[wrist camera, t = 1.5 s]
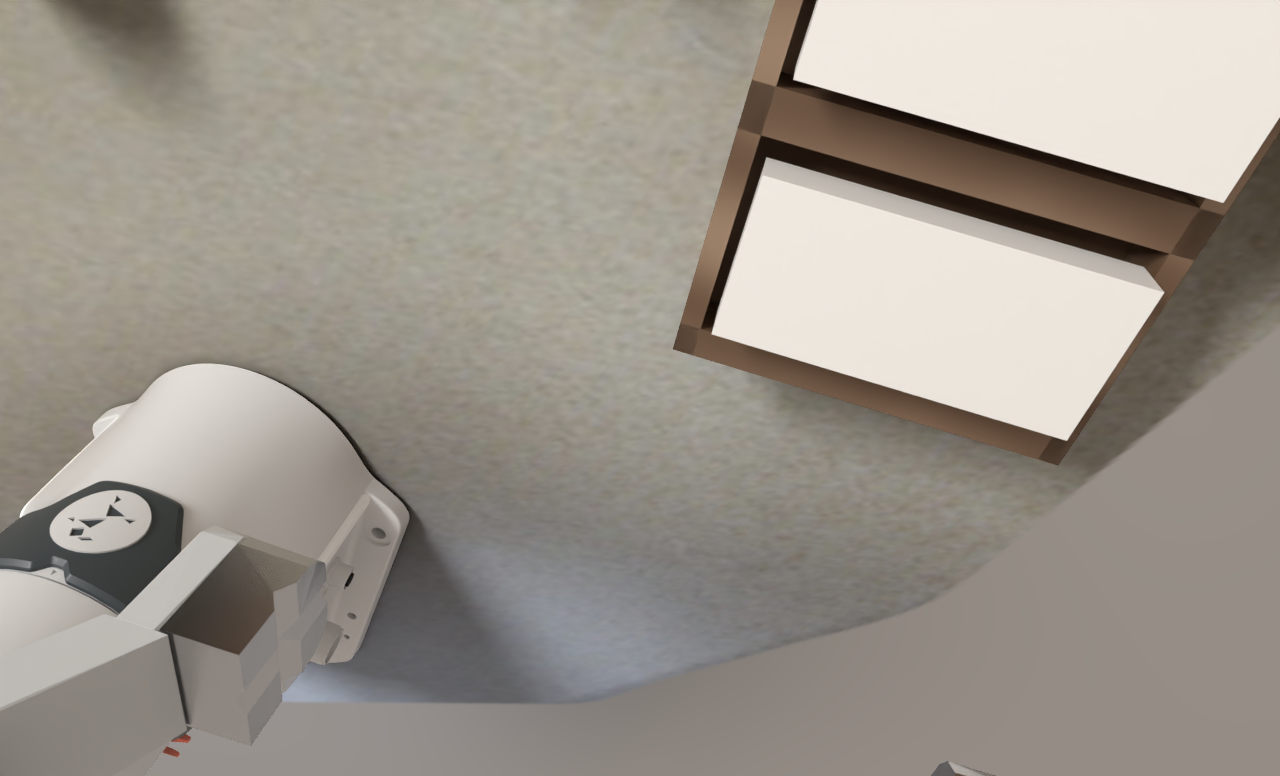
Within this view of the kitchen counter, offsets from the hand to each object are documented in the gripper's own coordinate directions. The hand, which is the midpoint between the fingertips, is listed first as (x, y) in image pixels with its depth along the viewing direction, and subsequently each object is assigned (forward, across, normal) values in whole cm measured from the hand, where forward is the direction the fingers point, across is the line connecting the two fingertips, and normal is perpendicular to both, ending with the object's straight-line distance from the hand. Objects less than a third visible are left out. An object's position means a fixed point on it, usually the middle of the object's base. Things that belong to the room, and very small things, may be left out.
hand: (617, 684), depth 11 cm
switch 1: (+22, -6, -6) cm, 23 cm away
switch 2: (+21, -6, +3) cm, 22 cm away
